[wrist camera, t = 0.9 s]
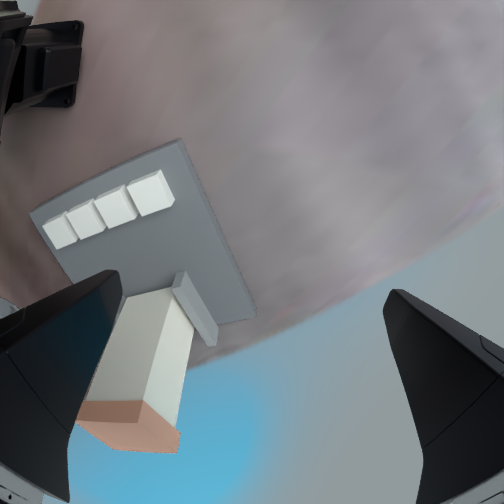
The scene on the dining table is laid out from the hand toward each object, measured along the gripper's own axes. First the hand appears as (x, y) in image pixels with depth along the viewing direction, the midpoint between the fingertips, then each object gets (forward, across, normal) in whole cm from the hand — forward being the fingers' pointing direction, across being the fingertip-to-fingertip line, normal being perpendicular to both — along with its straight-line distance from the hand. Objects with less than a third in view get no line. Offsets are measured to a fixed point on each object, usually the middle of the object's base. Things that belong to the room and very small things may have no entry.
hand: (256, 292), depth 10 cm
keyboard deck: (+14, -9, -9) cm, 19 cm away
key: (+12, -7, -13) cm, 19 cm away
